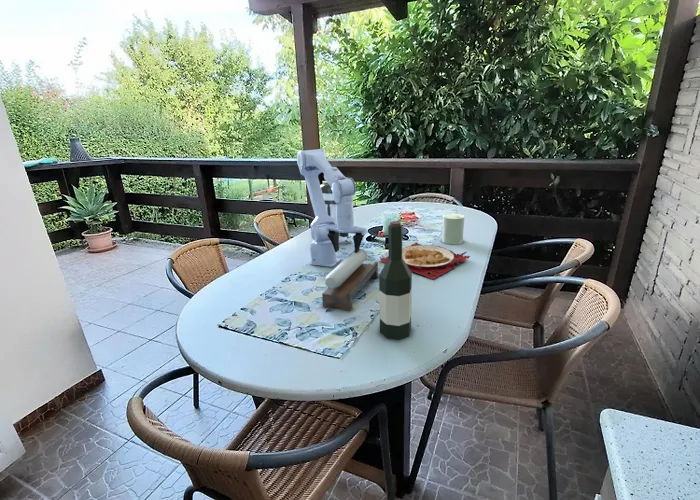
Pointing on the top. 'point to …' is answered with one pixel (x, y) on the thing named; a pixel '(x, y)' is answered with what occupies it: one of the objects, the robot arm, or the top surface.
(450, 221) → the can
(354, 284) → the wooden display stand
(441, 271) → the plate with food
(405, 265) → the wine bottle
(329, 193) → the coffee press
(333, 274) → the tube
